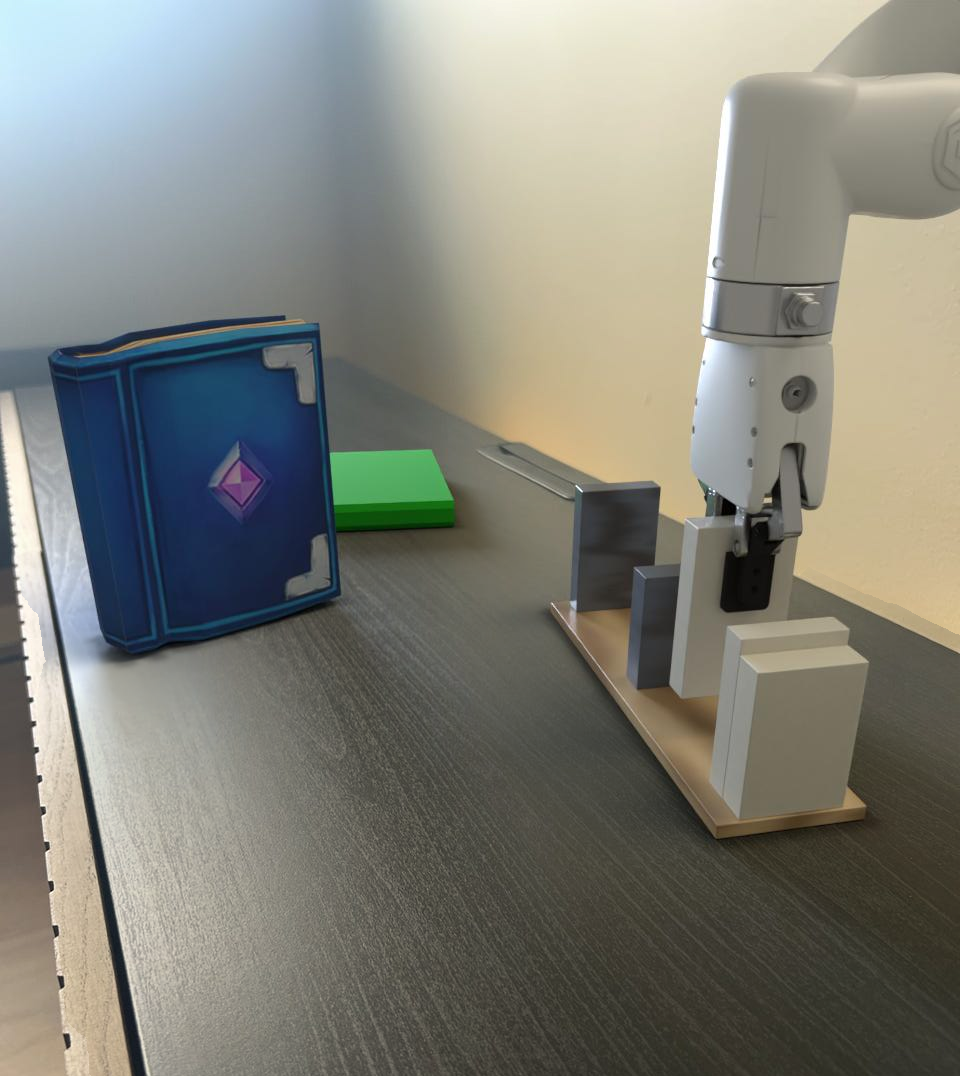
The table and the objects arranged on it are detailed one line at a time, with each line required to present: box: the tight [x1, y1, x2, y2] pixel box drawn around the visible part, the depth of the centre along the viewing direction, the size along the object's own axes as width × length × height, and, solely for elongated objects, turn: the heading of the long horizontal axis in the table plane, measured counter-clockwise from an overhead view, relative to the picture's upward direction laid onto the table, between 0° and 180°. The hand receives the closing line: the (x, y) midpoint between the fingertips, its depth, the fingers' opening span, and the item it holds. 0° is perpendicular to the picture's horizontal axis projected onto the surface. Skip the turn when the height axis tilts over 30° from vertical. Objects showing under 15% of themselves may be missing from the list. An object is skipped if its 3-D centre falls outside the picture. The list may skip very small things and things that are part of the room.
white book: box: [669, 515, 799, 699], centre depth 70 cm, size 7×2×12 cm, turn 103°
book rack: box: [550, 480, 867, 840], centre depth 78 cm, size 10×36×12 cm, turn 13°
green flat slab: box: [330, 448, 456, 532], centre depth 124 cm, size 22×28×3 cm
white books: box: [709, 616, 870, 820], centre depth 64 cm, size 7×4×11 cm, turn 103°
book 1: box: [47, 314, 342, 655], centre depth 88 cm, size 22×7×25 cm, turn 129°
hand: (733, 598), depth 70 cm, fingers closed on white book, 2 cm apart
